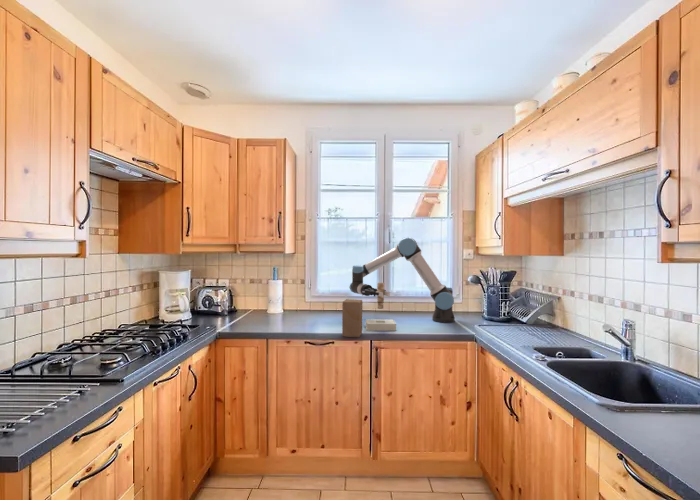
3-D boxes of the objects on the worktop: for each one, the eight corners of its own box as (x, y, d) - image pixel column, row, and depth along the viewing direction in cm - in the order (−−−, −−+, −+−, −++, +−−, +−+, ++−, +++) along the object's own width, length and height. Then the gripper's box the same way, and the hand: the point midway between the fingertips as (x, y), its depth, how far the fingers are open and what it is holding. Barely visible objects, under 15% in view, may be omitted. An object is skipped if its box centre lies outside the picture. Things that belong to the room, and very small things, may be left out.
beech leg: (383, 307, 231) (383, 282, 231) (384, 309, 227) (384, 283, 226) (376, 307, 231) (377, 282, 231) (377, 308, 227) (377, 283, 226)
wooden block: (359, 337, 206) (359, 302, 205) (342, 336, 208) (342, 301, 207) (362, 333, 216) (362, 299, 215) (345, 332, 218) (346, 299, 217)
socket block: (393, 325, 236) (393, 319, 236) (396, 330, 223) (396, 324, 223) (365, 325, 235) (365, 319, 235) (366, 330, 222) (366, 323, 222)
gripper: (375, 294, 249) (396, 299, 228) (354, 296, 240) (374, 301, 220) (375, 283, 248) (397, 287, 228) (354, 284, 240) (374, 289, 219)
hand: (385, 294), depth 224 cm, fingers closed on beech leg, 4 cm apart
